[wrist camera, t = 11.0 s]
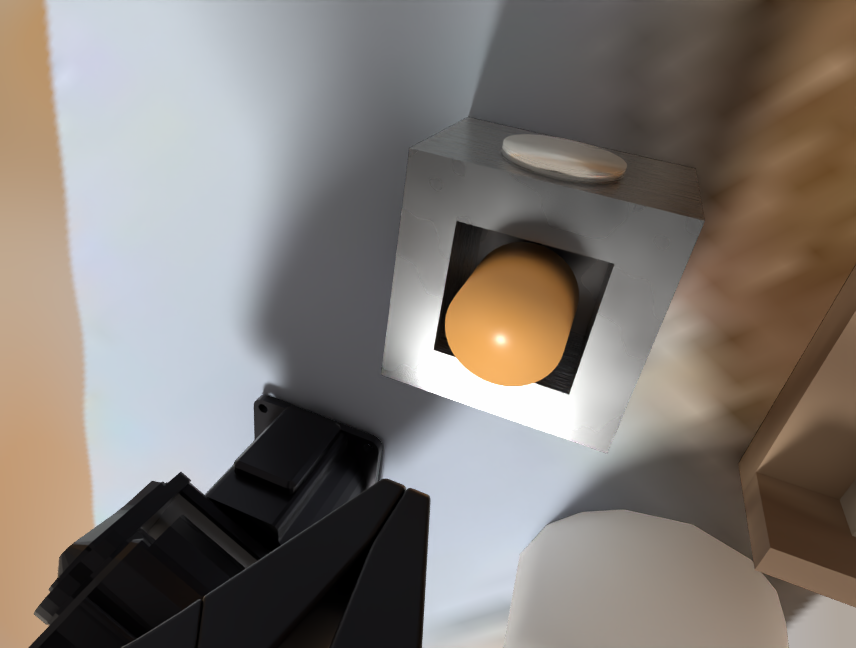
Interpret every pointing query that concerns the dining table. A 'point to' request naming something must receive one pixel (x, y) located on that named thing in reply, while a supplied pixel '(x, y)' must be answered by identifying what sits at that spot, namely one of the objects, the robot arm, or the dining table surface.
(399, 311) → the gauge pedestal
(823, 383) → the rail
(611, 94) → the dining table surface
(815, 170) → the dining table surface
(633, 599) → the teardrop
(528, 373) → the button
